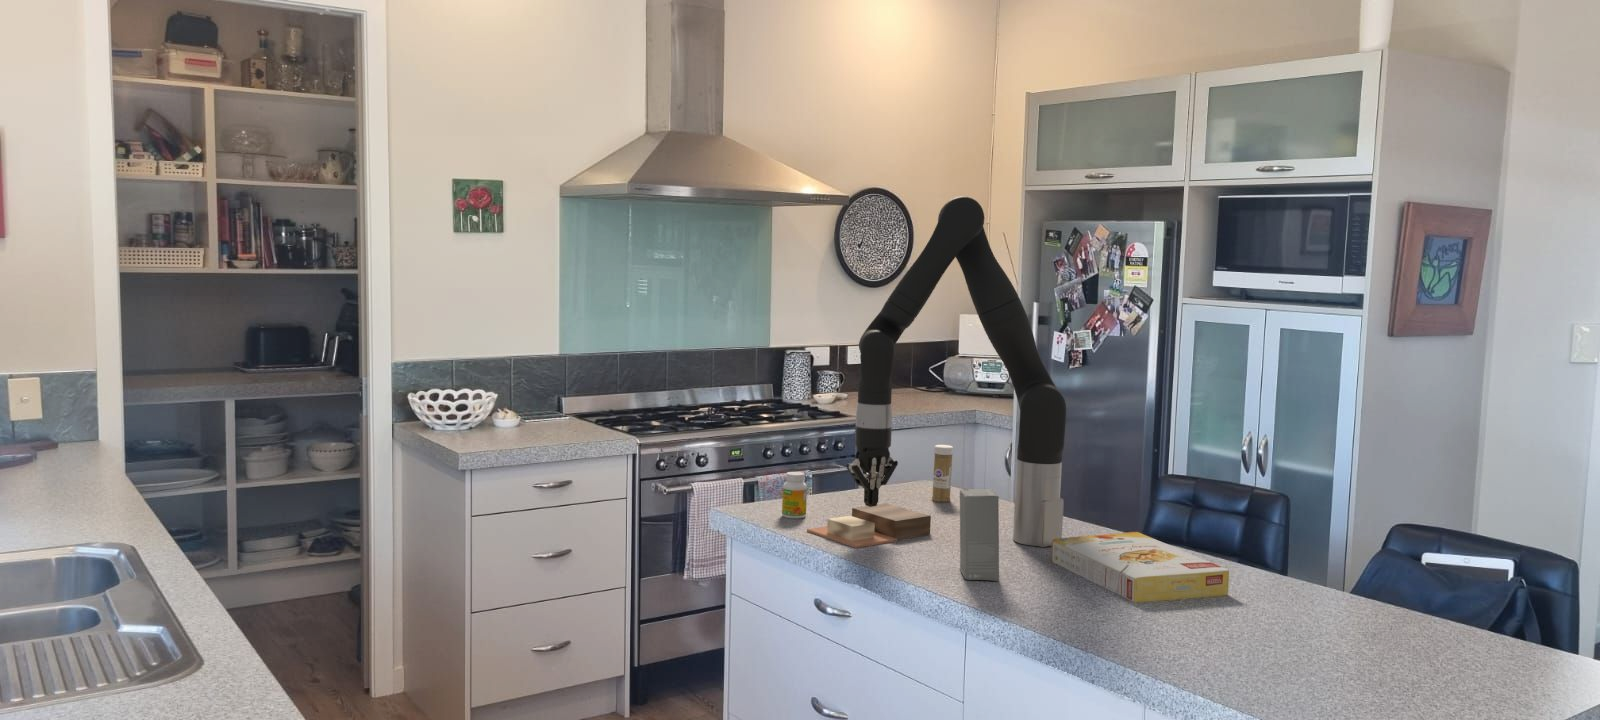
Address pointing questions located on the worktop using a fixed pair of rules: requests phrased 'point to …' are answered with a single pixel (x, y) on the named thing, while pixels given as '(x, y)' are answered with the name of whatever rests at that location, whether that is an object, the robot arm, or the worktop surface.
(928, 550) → the worktop surface
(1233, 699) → the worktop surface
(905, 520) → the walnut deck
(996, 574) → the skincare box
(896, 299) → the robot arm
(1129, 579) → the cereal box
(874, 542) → the terracotta mat
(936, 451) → the sprinkles bottle
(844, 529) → the birch block
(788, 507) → the supplement bottle
